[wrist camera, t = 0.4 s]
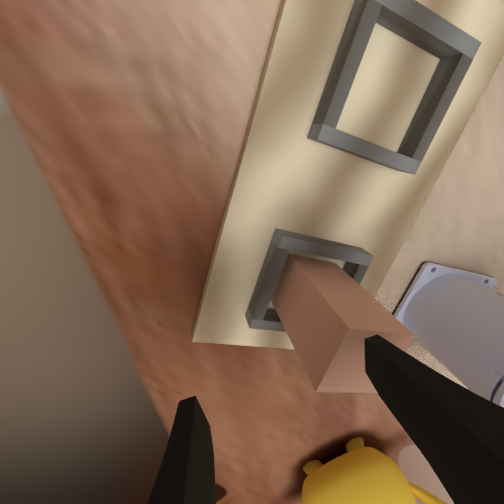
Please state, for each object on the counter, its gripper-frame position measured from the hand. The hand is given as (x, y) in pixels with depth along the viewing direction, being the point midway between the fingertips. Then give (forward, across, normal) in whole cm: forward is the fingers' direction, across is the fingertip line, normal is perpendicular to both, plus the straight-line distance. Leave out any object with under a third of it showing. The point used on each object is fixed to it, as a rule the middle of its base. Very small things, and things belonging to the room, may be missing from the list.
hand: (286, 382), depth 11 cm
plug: (+9, -4, +2) cm, 10 cm away
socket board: (+10, -7, -4) cm, 13 cm away
